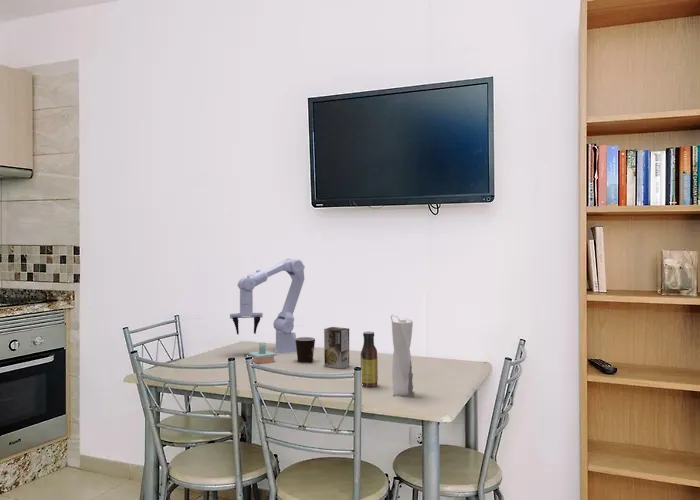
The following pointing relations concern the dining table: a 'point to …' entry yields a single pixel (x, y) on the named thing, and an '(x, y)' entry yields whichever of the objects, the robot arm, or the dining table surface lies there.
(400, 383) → the skyscraper
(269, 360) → the bowl
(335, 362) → the cookie box
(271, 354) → the lid
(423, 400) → the dining table surface
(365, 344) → the sauce bottle
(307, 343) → the coffee mug
